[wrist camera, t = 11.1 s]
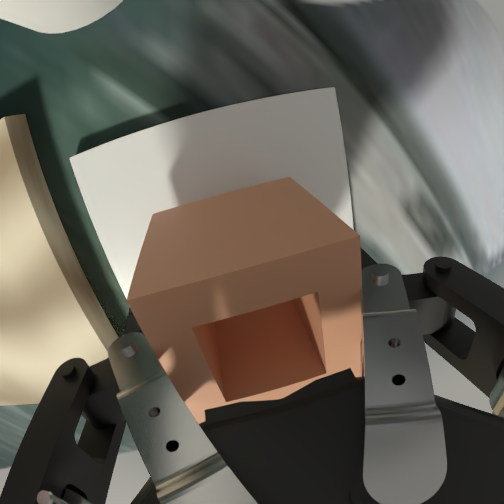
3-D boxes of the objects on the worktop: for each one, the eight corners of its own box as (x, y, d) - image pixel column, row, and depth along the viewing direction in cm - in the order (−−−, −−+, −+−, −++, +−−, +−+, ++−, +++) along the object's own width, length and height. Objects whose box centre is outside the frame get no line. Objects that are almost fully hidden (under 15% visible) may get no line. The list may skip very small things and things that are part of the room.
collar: (152, 213, 12) (126, 300, 7) (289, 176, 13) (359, 235, 7) (194, 322, 15) (201, 428, 10) (307, 290, 15) (360, 382, 10)
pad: (75, 155, 13) (69, 158, 12) (327, 87, 13) (334, 87, 12) (159, 350, 18) (159, 360, 17) (352, 296, 19) (357, 304, 18)
